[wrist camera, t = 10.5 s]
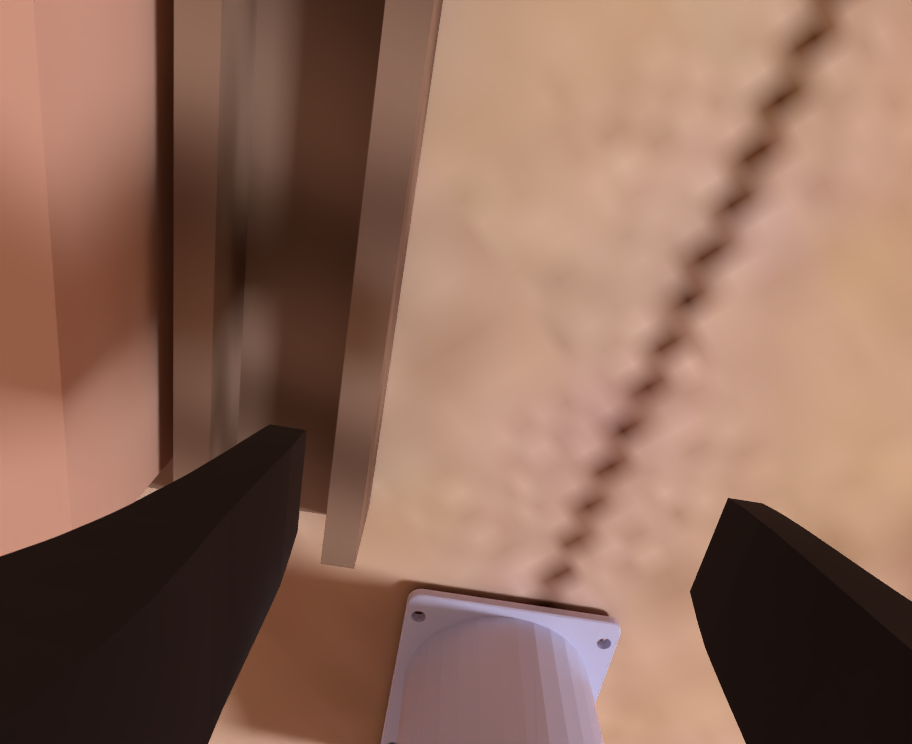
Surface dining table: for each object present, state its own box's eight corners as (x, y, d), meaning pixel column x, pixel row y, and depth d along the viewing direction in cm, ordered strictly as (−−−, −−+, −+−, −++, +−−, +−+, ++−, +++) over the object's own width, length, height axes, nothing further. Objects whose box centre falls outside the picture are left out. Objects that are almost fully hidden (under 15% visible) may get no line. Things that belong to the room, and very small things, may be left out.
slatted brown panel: (368, 506, 22) (353, 568, 19) (-50, 442, 21) (-134, 495, 18) (474, -221, 14) (477, -310, 11) (-174, -364, 13) (-355, -500, 10)
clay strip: (183, 444, 20) (74, 571, 14) (120, 434, 20) (-14, 558, 14) (189, -175, 14) (6, -369, 8) (98, -194, 14) (-149, -403, 8)
